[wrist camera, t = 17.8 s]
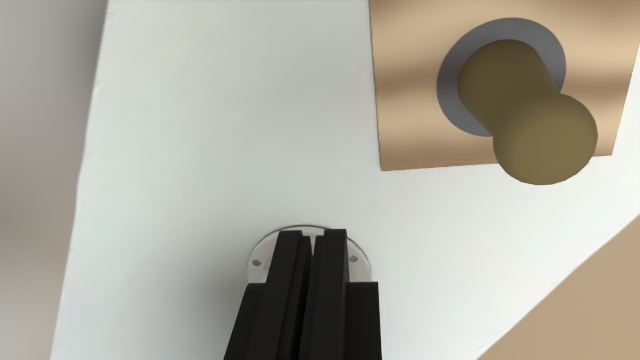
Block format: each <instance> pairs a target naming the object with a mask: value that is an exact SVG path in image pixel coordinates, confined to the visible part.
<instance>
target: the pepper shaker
mask: <svg viewBox="0 0 640 360" xmlns="http://www.w3.org/2000/svg"><path fill="white" fill-rule="evenodd" d="M457 91H458V94H459V97H460V100H461V102H462V104H463V105H464V106H465V107H466V108H467V110H468V111H469V112H470V113H471V114H472V115H473V116H474V117H475V118H476V119H477V120H478V122H479V123H480V124H481V125H482V126H483V127H484V128H485V129H486V130H487V131H488V132H489V133H490V134H491V135H492V136H493V150H494V153H495V156H496V159H497V161H498V163H499V164H500V166H501V167H502V168H503V169H504V170H505V172H506V173H508V174H509V175H510V176H512V177H513V178H515V179H517V180H519V181H521V182H524V183H529V184H534V185H550V184H555V183H558V182H562V181H565V180H567V179H568V178H570V177H572V176H574V175H576V174H577V173H578V172H579V171H580V170H582V169H583V168H584V167H585V166H586V165H587V164H588V162H589V160H590V159H591V157H592V156H593V154H594V152H595V149H596V144H597V140H598V132H597V126H596V122H595V119H594V117H593V116H592V114H591V113H590V111H589V110H588V108H587V107H586V106H584V105H583V104H582V103H581V102H579V101H578V100H576V99H574V98H573V97H571V96H569V95H565V94H561V93H560V91H559V90H558V88H557V86H556V84H555V82H554V80H553V79H552V77H551V75H550V73H549V71H548V70H547V68H546V66H545V64H544V62H543V60H542V59H541V57H540V56H539V54H538V53H537V51H536V50H535V49H534V48H533V47H531V46H530V45H528V44H527V43H525V42H523V41H518V40H514V39H505V40H496V41H494V42H491V43H489V44H486V45H484V46H482V47H481V48H479V49H478V50H477V51H475V52H474V53H473V54H471V56H470V57H469V58H468V59H467V61H466V62H465V63H464V65H463V66H462V69H461V71H460V74H459V77H458V87H457Z"/></svg>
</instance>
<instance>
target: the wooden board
mask: <svg viewBox="0 0 640 360" xmlns="http://www.w3.org/2000/svg"><path fill="white" fill-rule="evenodd" d="M369 2H370V17H371V31H372V45H373V60H374V74H375V88H376V103H377V117H378V131H379V145H380V160H381V171H390V170H405V169H419V168H434V167H448V166H463V165H477V164H492V163H498V161H497V159H496V156H495V153H494V150H493V136H492V135H491V134H490V133H489V132H488V131H487V130H486V129H485V128H484V127H483V126H482V125H481V124H480V123H479V122H478V120H477V119H476V118H475V117H474V116H473V115H472V114H471V113H470V112H469V111H468V110H467V108H466V107H465V106H464V105H463V104H462V102H461V100H460V97H459V94H458V91H457V87H458V77H459V74H460V71H461V69H462V66H463V65H464V63H465V62H466V61H467V59H468V58H469V57H470V56H471V54H473V53H474V52H475V51H477V50H478V49H479V48H481V47H482V46H484V45H486V44H489V43H491V42H494V41H496V40H505V39H514V40H518V41H523V42H525V43H527V44H528V45H530V46H531V47H533V48H534V49H535V50H536V51H537V53H538V54H539V56H540V57H541V59H542V60H543V62H544V64H545V66H546V68H547V70H548V71H549V73H550V75H551V77H552V79H553V80H554V82H555V84H556V86H557V88H558V90H559V91H560V93H561V94H565V95H569V96H571V97H573V98H574V99H576V100H578V101H579V102H581V103H582V104H583V105H584V106H586V107H587V108H588V110H589V111H590V113H591V114H592V116H593V117H594V119H595V122H596V126H597V132H598V140H597V144H596V149H595V152H594V154H593V156H592V157H594V156H608V155H612V152H613V148H614V144H615V140H616V136H617V132H618V128H619V124H620V120H621V116H622V112H623V108H624V104H625V100H626V96H627V92H628V88H629V84H630V80H631V76H632V72H633V68H634V64H635V60H636V56H637V52H638V48H639V44H640V0H369Z"/></svg>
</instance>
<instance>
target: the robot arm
mask: <svg viewBox="0 0 640 360" xmlns="http://www.w3.org/2000/svg"><path fill="white" fill-rule="evenodd" d="M247 280H248V283H249V284H248V285H247V287H246V290H245V293H244V296H243V299H242V302H241V305H240V309H239V312H238V315H237V318H236V321H235V325H234V328H233V331H232V334H231V337H230V340H229V344H228V347H227V350H226V353H225V356H224V359H223V360H382V353H381V333H380V312H379V292H378V282H371V268H370V265H369V263H368V260H367V258H366V257H365V255H364V254H363V252H362V251H361V250H360V249H359V248H358V247H357V246H356V245H355V244H354V243H353V242H351V241H350V240H348V239H347V233H346V229H322V228H316V227H292V228H286V229H282V230H280V231H277V232H274V233H272V234H270V235H269V236H267V237H265V238H264V239H263V240H262V241H261V242H259V243H258V244H257V246H256V247H255V248H254V250H253V251H252V254H251V256H250V259H249V262H248V266H247Z"/></svg>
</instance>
